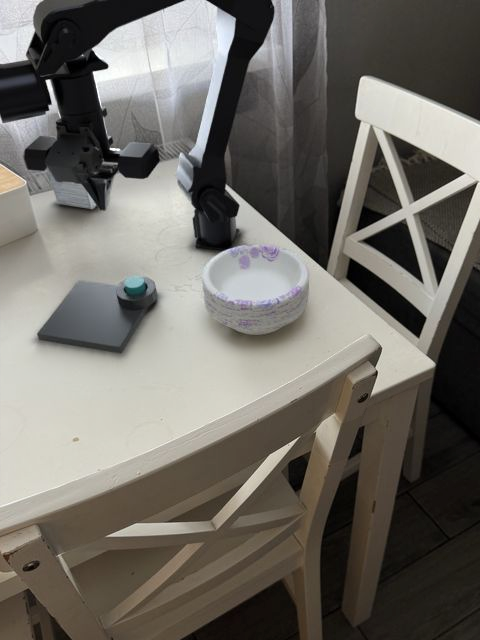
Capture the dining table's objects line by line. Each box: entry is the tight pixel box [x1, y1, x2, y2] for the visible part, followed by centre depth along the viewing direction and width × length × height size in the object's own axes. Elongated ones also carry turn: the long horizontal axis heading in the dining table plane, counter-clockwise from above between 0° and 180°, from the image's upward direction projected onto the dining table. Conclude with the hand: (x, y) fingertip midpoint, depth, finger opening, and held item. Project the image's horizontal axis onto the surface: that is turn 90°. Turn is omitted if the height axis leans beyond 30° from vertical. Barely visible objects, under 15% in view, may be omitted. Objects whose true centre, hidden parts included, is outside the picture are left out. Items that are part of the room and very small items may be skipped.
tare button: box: [124, 275, 146, 296], centre depth 90 cm, size 3×3×2 cm
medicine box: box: [46, 167, 98, 210], centre depth 112 cm, size 8×4×9 cm, turn 71°
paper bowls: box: [201, 243, 310, 336], centre depth 86 cm, size 15×15×8 cm
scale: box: [36, 275, 158, 354], centre depth 89 cm, size 14×14×3 cm
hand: (104, 209), depth 91 cm, fingers closed
